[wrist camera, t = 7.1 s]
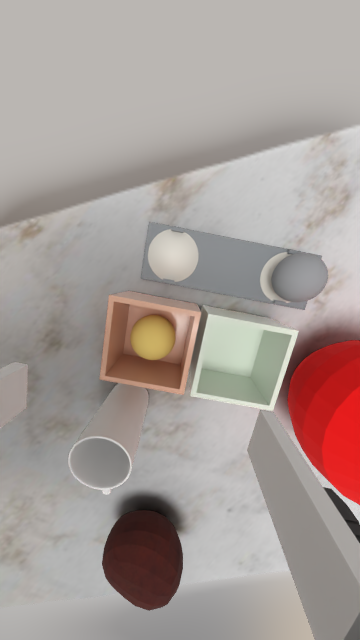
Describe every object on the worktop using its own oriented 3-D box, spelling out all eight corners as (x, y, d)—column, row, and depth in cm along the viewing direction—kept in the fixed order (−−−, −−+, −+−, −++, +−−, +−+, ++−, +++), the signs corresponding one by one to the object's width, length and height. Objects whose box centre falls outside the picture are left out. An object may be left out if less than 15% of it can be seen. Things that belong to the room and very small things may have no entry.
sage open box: (188, 367, 31) (190, 395, 24) (202, 304, 29) (208, 313, 21) (251, 379, 31) (272, 411, 24) (269, 317, 29) (298, 331, 22)
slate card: (141, 278, 28) (139, 278, 27) (149, 222, 27) (148, 220, 26) (302, 309, 29) (307, 310, 28) (320, 256, 27) (325, 255, 26)
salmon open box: (119, 355, 31) (99, 379, 23) (128, 290, 29) (109, 294, 21) (183, 367, 31) (183, 394, 24) (196, 303, 29) (201, 312, 21)
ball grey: (258, 295, 28) (278, 299, 22) (270, 251, 27) (295, 244, 21) (299, 303, 28) (330, 309, 22) (313, 260, 27) (349, 255, 21)
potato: (128, 480, 36) (106, 560, 26) (193, 506, 37) (197, 593, 27) (107, 522, 38) (79, 611, 28) (169, 545, 39) (164, 640, 29)
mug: (109, 376, 32) (65, 434, 20) (151, 378, 32) (131, 438, 20) (111, 430, 34) (72, 511, 22) (150, 432, 34) (132, 515, 22)
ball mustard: (133, 346, 30) (121, 362, 24) (139, 308, 29) (127, 315, 23) (172, 353, 30) (169, 371, 24) (179, 315, 29) (178, 325, 23)
